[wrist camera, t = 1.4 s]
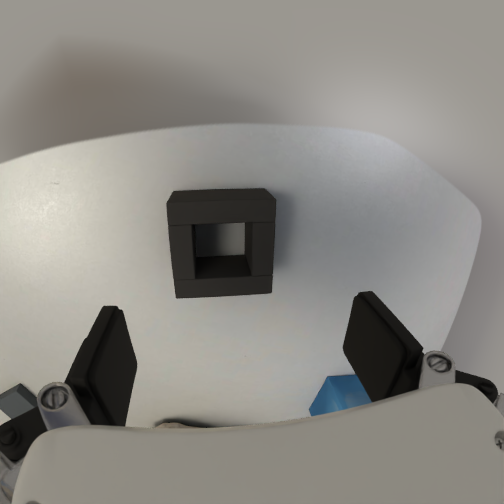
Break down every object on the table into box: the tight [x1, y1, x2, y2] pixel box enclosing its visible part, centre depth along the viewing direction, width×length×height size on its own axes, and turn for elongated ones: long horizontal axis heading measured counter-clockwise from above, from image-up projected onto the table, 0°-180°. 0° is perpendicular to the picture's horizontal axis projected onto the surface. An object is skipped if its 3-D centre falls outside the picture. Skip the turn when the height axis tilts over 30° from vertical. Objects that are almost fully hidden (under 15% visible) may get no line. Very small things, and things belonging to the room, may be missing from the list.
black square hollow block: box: [166, 188, 276, 298], centre depth 19 cm, size 6×6×4 cm
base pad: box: [0, 384, 38, 419], centre depth 24 cm, size 10×10×4 cm
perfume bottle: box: [309, 375, 372, 416], centre depth 25 cm, size 6×6×12 cm
